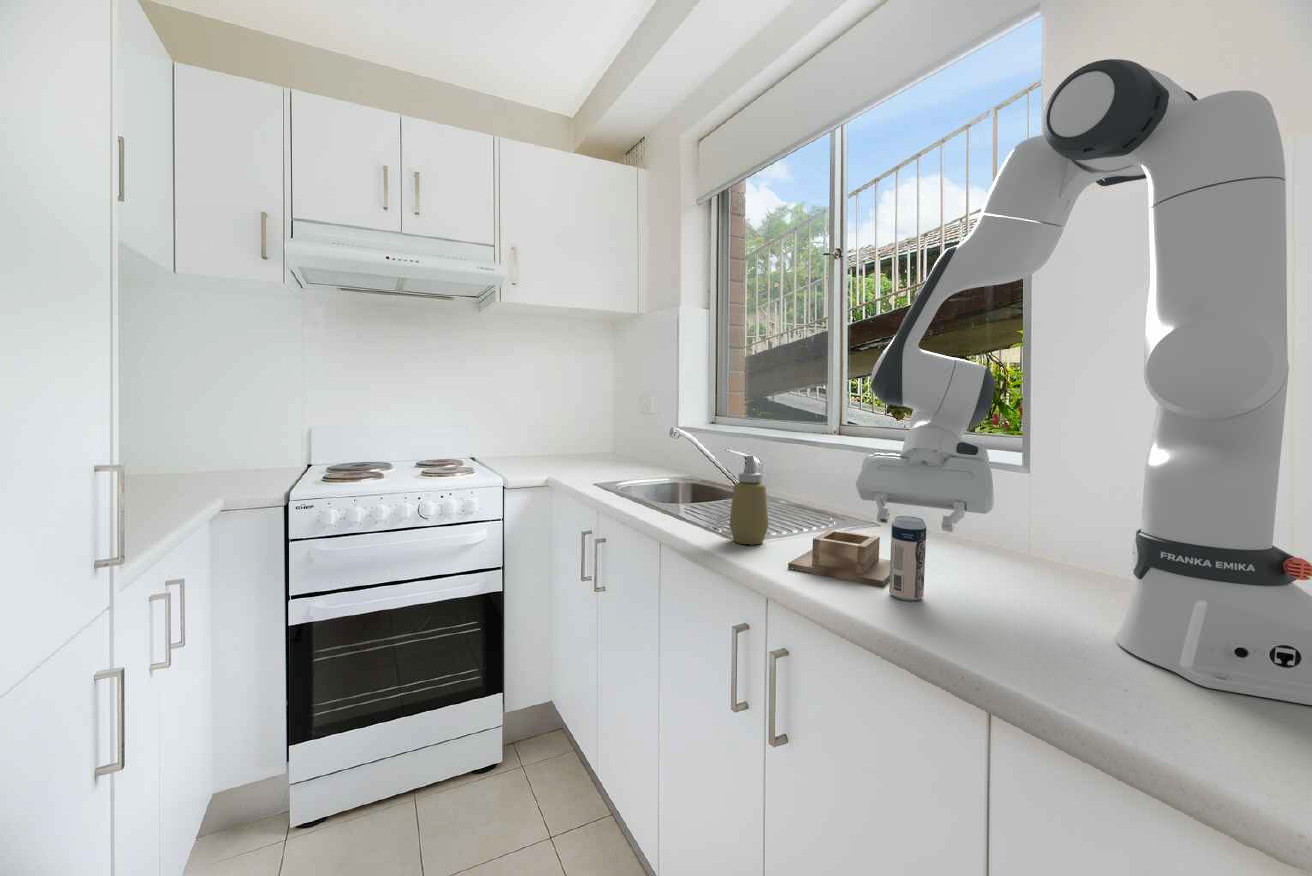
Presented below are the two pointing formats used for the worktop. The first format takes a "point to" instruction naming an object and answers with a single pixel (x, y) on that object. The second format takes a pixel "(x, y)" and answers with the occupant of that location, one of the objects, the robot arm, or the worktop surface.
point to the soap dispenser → (749, 507)
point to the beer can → (907, 558)
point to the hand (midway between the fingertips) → (913, 524)
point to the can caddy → (845, 558)
